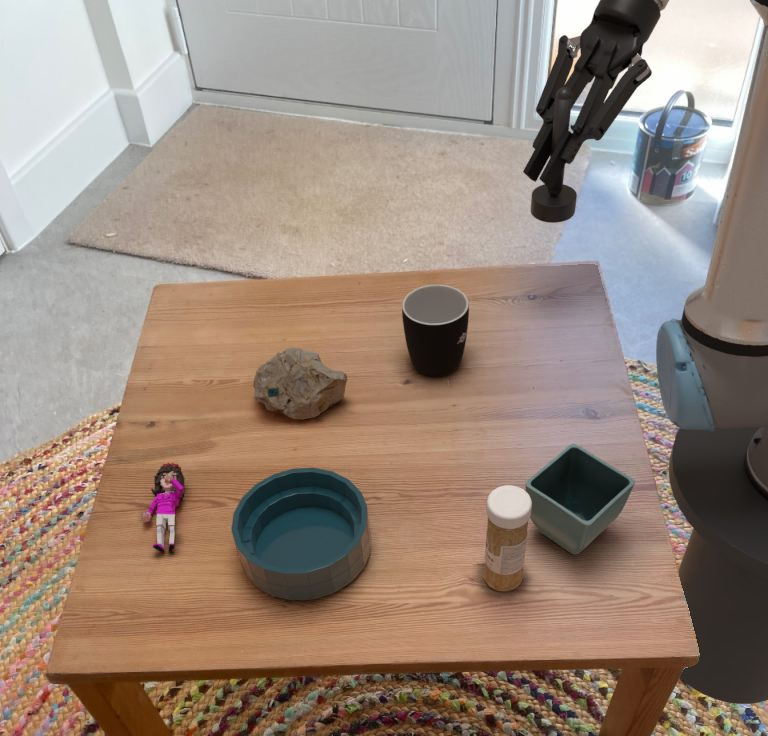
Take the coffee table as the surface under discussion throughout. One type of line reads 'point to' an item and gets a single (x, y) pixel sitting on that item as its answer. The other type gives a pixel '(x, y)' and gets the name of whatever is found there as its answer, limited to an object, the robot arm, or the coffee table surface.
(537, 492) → the flower pot
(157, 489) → the character figurine
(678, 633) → the coffee table surface
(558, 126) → the peg on disc base
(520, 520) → the spice jar
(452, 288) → the mug
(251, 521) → the bowl
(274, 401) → the rock
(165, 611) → the coffee table surface
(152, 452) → the coffee table surface
